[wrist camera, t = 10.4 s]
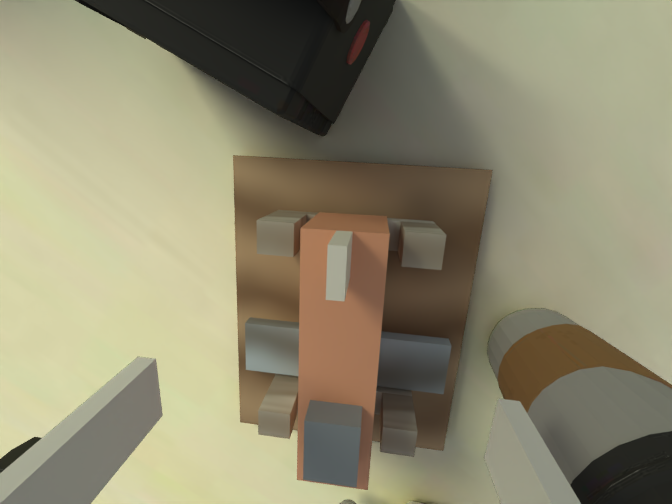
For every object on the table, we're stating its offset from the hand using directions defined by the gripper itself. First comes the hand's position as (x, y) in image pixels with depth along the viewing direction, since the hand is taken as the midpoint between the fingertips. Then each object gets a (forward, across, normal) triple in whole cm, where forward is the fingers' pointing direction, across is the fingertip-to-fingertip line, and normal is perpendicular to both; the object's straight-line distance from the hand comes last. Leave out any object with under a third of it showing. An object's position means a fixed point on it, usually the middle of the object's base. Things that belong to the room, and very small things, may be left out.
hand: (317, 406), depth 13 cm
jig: (+13, 0, -2) cm, 13 cm away
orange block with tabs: (+11, 0, -2) cm, 11 cm away
